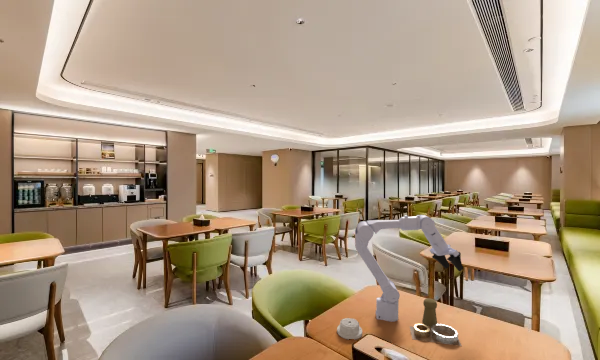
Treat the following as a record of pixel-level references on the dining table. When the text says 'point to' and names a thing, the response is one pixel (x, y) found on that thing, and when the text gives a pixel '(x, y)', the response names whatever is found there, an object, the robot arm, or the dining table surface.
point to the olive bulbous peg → (429, 312)
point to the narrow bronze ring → (421, 330)
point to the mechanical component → (349, 329)
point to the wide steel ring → (444, 339)
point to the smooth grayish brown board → (431, 337)
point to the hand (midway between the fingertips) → (454, 268)
